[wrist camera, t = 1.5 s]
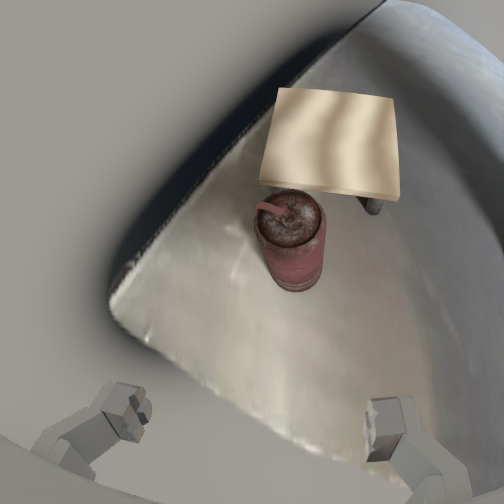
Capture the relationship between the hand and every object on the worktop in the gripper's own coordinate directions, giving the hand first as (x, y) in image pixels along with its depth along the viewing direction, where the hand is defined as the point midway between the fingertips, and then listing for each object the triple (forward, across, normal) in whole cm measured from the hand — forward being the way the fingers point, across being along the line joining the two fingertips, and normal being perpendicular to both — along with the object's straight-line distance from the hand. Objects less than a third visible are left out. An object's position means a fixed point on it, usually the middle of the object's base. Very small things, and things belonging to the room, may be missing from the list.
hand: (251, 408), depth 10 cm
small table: (+38, -6, -2) cm, 39 cm away
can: (+28, 0, +9) cm, 30 cm away
